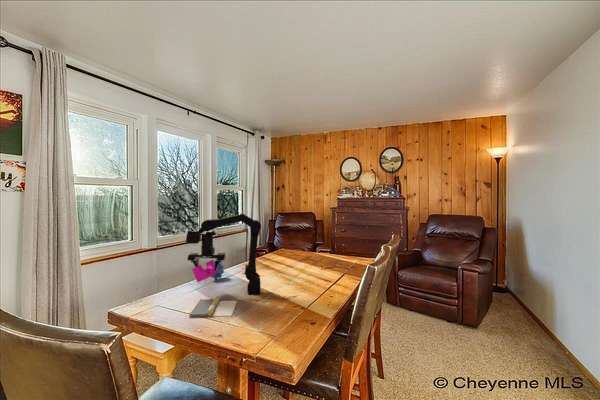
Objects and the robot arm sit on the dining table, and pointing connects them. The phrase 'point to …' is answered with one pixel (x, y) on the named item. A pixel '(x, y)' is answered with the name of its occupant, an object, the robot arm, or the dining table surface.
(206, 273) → the toy block
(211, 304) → the hinge leaf
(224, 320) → the dining table surface
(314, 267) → the dining table surface
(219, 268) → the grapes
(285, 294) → the dining table surface
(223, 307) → the leaf pad
